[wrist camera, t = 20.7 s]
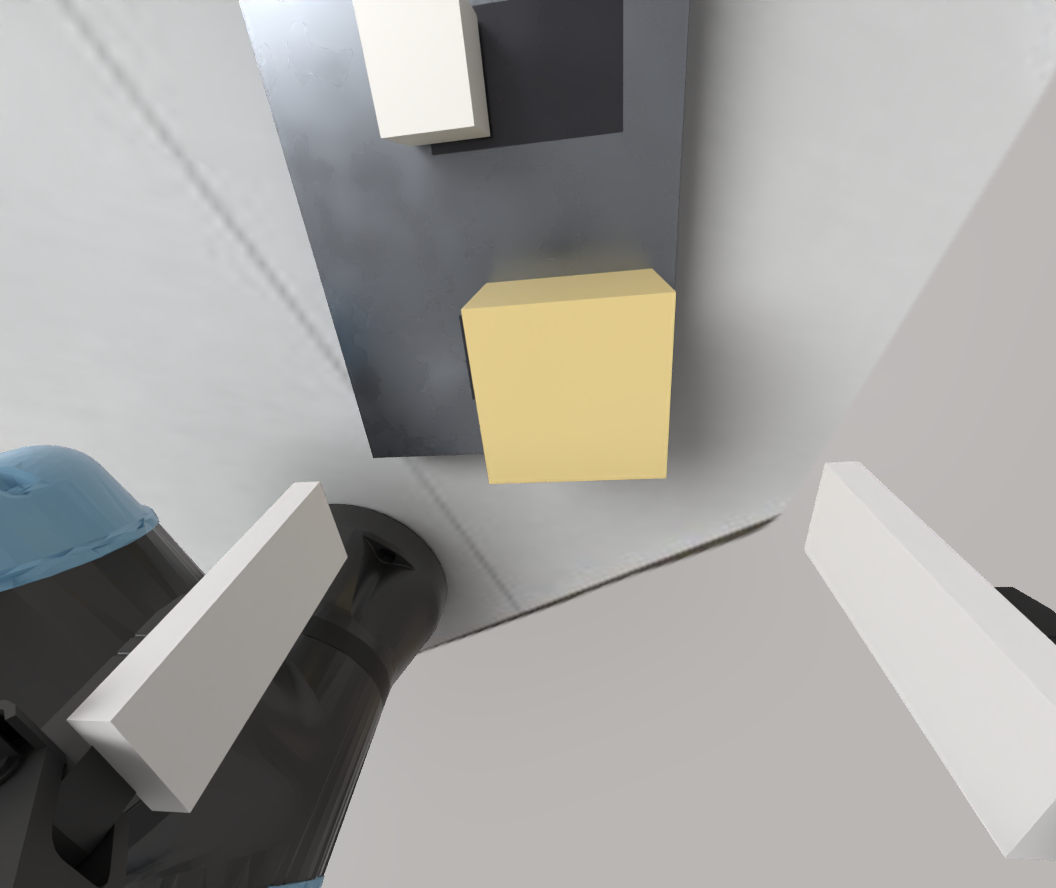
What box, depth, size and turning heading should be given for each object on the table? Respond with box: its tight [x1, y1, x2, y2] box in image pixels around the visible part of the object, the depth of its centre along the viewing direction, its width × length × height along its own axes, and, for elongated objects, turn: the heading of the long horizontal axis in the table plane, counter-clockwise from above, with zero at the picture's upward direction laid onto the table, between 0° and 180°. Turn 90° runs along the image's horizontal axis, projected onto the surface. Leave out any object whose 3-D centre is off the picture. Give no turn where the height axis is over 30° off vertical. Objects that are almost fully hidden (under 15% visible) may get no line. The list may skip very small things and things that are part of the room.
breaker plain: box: [352, 0, 490, 146], centre depth 18 cm, size 4×4×4 cm
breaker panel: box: [239, 0, 690, 458], centre depth 24 cm, size 23×18×3 cm
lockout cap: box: [461, 269, 676, 484], centre depth 22 cm, size 8×8×6 cm
